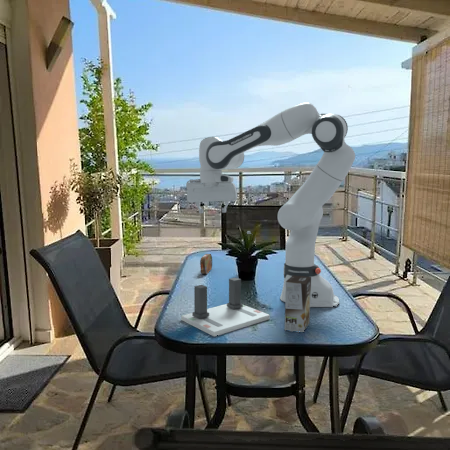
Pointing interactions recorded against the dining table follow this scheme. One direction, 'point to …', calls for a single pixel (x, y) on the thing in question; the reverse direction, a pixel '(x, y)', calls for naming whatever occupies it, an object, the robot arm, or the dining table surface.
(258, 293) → the dining table surface
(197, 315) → the post
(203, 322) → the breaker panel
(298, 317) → the coffee box
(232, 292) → the post
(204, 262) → the tin
